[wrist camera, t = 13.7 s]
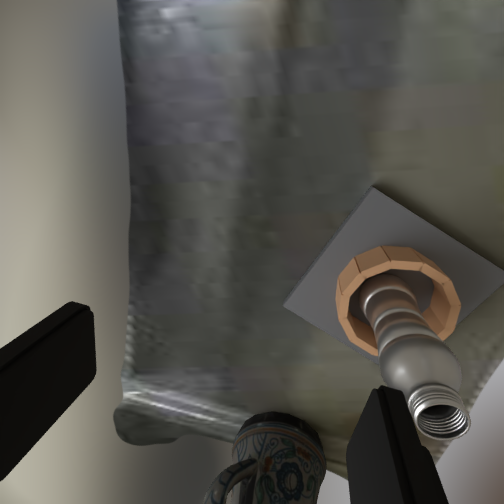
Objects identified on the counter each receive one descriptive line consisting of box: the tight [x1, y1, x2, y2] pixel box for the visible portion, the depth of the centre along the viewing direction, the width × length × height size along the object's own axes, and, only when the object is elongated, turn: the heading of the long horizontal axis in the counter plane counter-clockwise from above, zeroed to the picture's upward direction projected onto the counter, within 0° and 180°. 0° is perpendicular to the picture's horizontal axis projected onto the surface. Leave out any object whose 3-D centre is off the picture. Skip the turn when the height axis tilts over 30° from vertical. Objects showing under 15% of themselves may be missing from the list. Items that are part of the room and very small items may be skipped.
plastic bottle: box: [359, 274, 471, 440], centre depth 31 cm, size 6×7×20 cm
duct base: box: [283, 186, 504, 365], centre depth 38 cm, size 20×20×6 cm
